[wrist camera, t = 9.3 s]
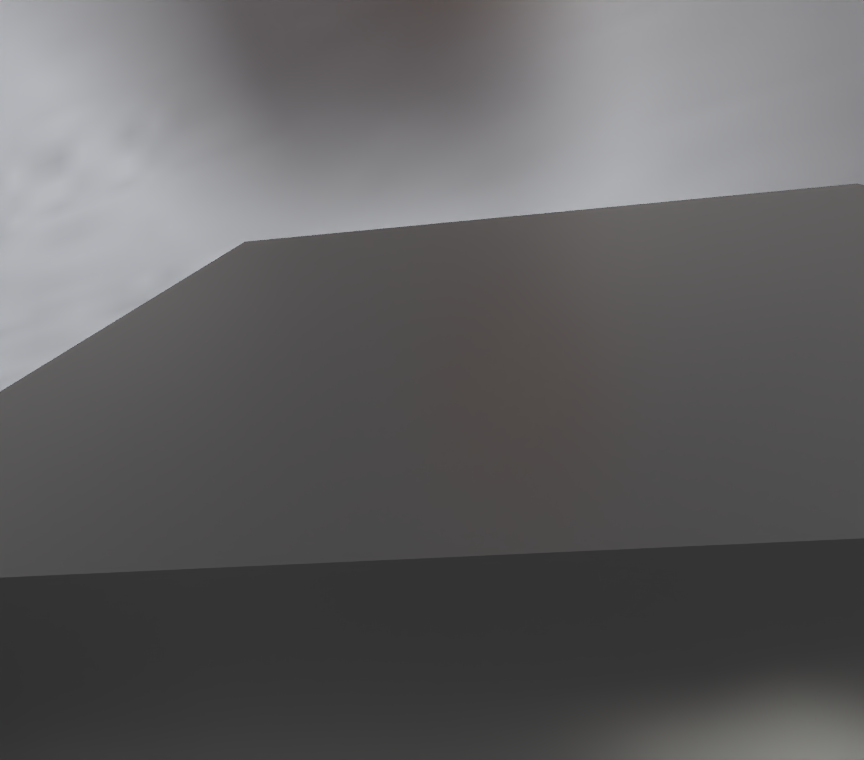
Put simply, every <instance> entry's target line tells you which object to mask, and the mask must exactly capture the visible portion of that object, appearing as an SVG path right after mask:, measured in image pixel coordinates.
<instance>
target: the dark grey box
mask: <svg viewBox="0 0 864 760" xmlns="http://www.w3.org/2000/svg"><path fill="white" fill-rule="evenodd" d="M0 760H864V185H861V184H849V185H839V186H828V187H818V188H807V189H797V190H786V191H776V192H765V193H755V194H744V195H733V196H723V197H712V198H702V199H691V200H681V201H670V202H660V203H649V204H639V205H628V206H617V207H607V208H596V209H586V210H575V211H565V212H554V213H544V214H533V215H523V216H512V217H501V218H491V219H480V220H470V221H459V222H449V223H438V224H428V225H417V226H407V227H396V228H386V229H375V230H364V231H354V232H343V233H333V234H322V235H312V236H301V237H291V238H280V239H270V240H259V241H248V242H244V243H242V244H241V245H239V246H237V247H236V248H234V249H232V250H231V251H229V252H227V253H226V254H224V255H223V256H221V257H219V258H218V259H216V260H214V261H213V262H211V263H210V264H208V265H206V266H205V267H203V268H201V269H200V270H198V271H196V272H195V273H193V274H192V275H190V276H188V277H187V278H185V279H183V280H182V281H180V282H179V283H177V284H175V285H174V286H172V287H170V288H169V289H167V290H165V291H164V292H162V293H161V294H159V295H157V296H156V297H154V298H152V299H151V300H149V301H147V302H146V303H144V304H143V305H141V306H139V307H138V308H136V309H134V310H133V311H131V312H130V313H128V314H126V315H125V316H123V317H121V318H120V319H118V320H116V321H115V322H113V323H112V324H110V325H108V326H107V327H105V328H103V329H102V330H100V331H99V332H97V333H95V334H94V335H92V336H90V337H89V338H87V339H85V340H84V341H82V342H81V343H79V344H77V345H76V346H74V347H72V348H71V349H69V350H67V351H66V352H64V353H63V354H61V355H59V356H58V357H56V358H54V359H53V360H51V361H50V362H48V363H46V364H45V365H43V366H41V367H40V368H38V369H36V370H35V371H33V372H32V373H30V374H28V375H27V376H25V377H23V378H22V379H20V380H19V381H17V382H15V383H14V384H12V385H10V386H9V387H7V388H5V389H4V390H2V391H1V392H0Z"/></svg>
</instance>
